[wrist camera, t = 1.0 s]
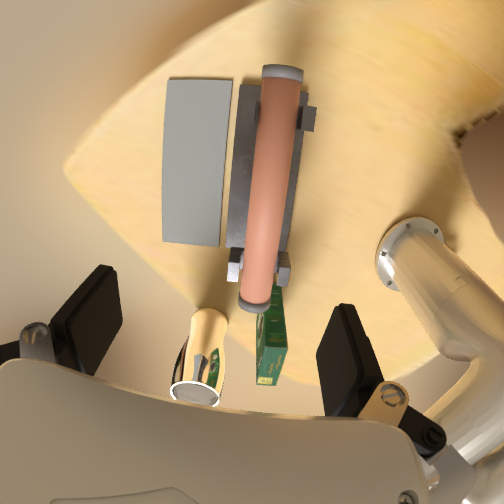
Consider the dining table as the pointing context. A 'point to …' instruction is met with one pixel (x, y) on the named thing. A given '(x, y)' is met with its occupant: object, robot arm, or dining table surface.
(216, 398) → the beer glass
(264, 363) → the coffee box
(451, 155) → the dining table surface
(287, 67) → the rod
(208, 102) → the mat
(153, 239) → the dining table surface
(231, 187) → the hook stand
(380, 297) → the dining table surface
